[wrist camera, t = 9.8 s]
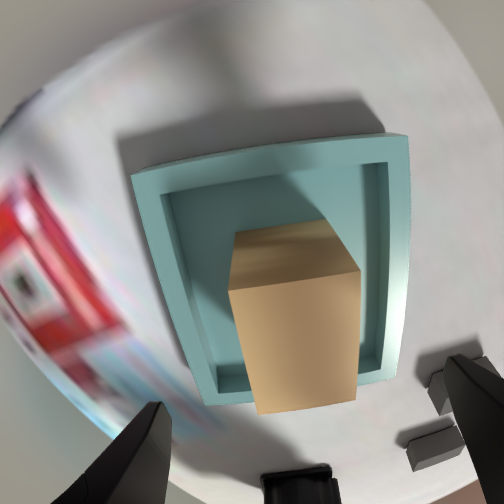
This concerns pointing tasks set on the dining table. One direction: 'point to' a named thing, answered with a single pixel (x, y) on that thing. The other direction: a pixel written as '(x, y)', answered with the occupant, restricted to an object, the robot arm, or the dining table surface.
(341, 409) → the dining table surface
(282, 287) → the wooden block
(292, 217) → the teal tray
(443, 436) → the pair of grey blocks
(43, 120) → the dining table surface
